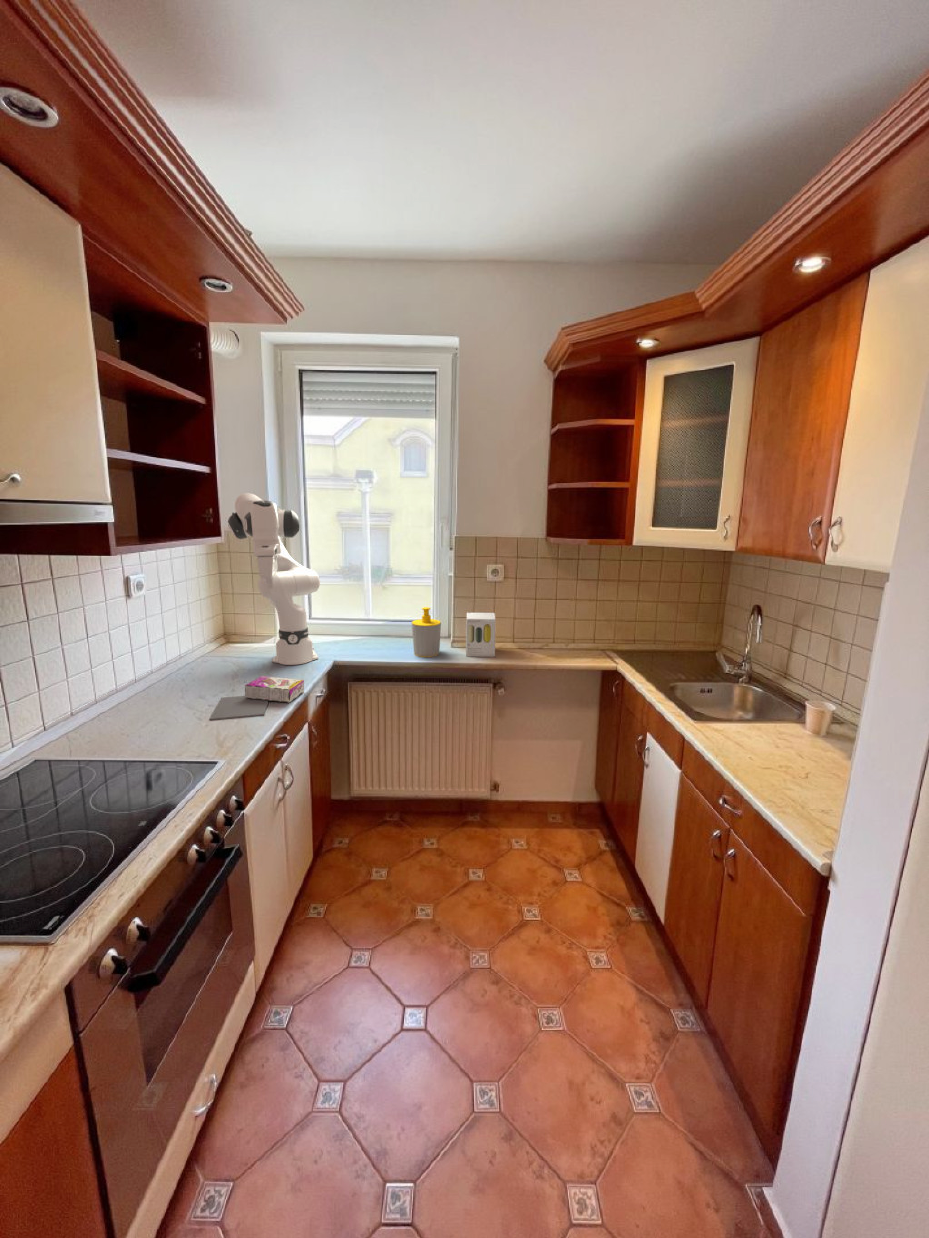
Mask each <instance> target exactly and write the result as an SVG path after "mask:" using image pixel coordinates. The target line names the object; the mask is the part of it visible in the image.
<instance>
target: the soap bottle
mask: <svg viewBox="0 0 929 1238" xmlns="http://www.w3.org/2000/svg"><path fill="white" fill-rule="evenodd" d="M421 610H423V614H422V616H421V618H420V619H419V618H418V619H415V620H412V621H411V627H412V628H411V630H412V643H413V654H414V656H416V657H421V658H432V657H436V656H439V654H440V650H441V649H440V647H441V628H442V627H441V626H442V623H441V620H439V619H434V618H431V617H432V616H431V615H430V610H431V607H428V606H424V607H422V608H421Z"/></svg>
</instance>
